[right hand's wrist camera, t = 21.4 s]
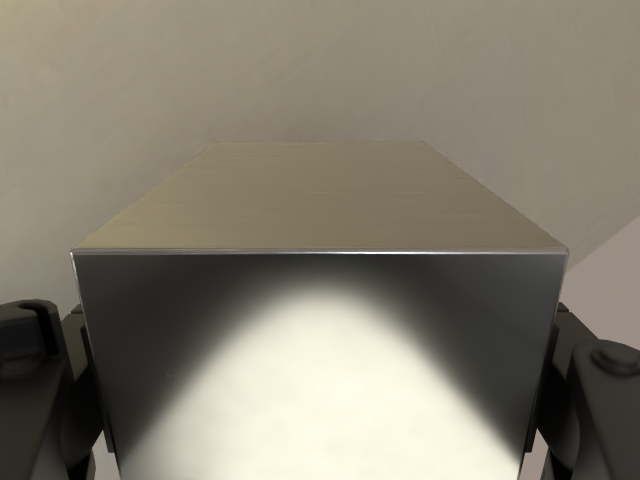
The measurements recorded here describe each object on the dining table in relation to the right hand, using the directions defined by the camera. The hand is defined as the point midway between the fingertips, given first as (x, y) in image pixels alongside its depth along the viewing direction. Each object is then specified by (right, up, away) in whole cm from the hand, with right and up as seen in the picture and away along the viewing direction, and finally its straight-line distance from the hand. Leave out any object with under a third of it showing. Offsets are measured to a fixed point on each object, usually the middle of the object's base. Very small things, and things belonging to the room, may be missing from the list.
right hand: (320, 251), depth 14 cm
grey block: (0, 0, +1) cm, 1 cm away
